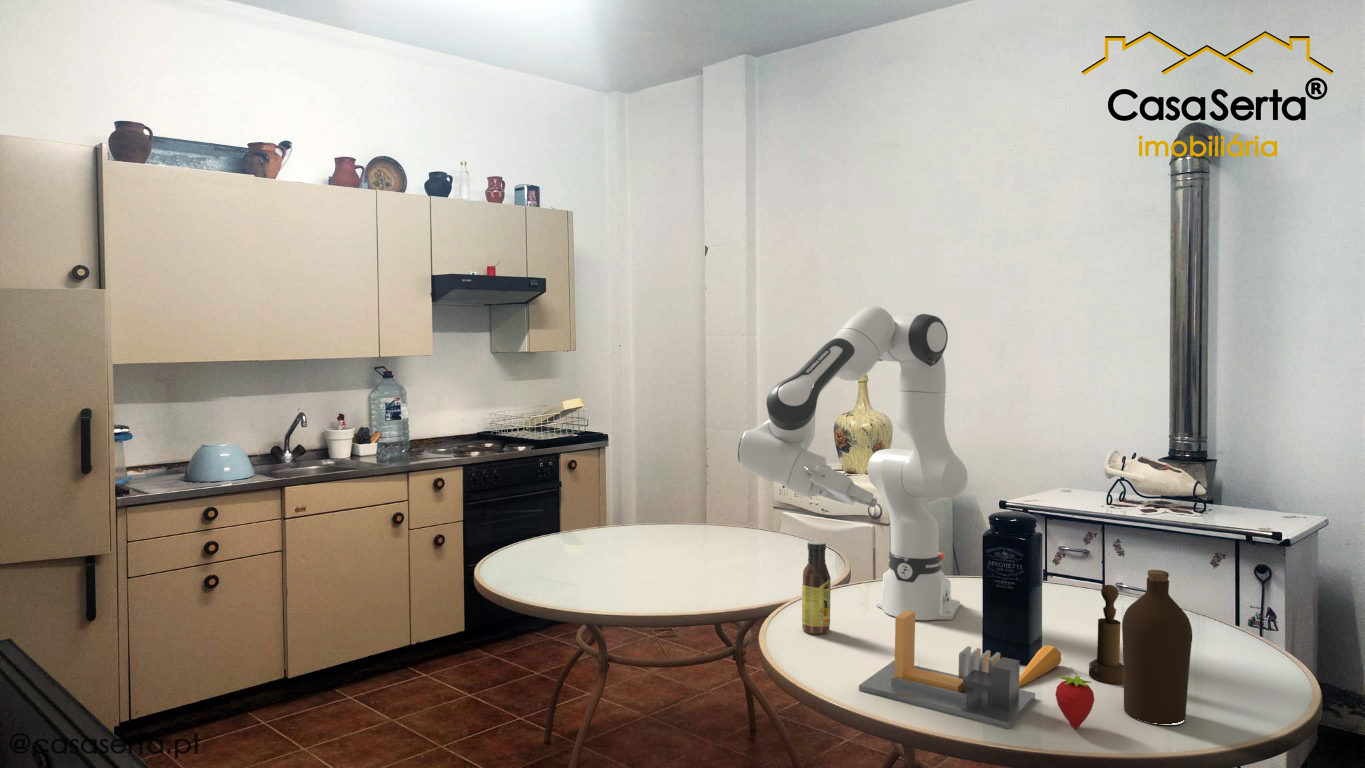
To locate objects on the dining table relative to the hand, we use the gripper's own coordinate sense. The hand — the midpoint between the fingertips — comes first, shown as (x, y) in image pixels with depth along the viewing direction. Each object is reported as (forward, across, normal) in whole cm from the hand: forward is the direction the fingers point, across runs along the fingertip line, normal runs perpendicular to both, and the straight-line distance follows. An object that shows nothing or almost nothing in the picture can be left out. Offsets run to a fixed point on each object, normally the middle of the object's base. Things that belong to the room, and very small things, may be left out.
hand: (874, 501), depth 173 cm
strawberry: (+45, -10, +23) cm, 52 cm away
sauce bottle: (-4, +26, +30) cm, 40 cm away
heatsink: (+25, -2, +28) cm, 38 cm away
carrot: (+39, +12, +19) cm, 45 cm away
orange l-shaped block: (+22, -2, +27) cm, 35 cm away
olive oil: (+58, -1, +16) cm, 60 cm away
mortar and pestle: (+52, +15, +13) cm, 55 cm away
